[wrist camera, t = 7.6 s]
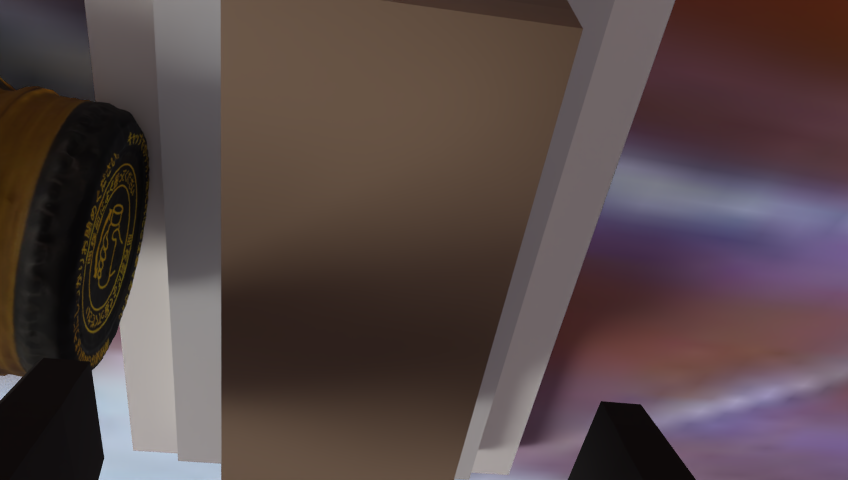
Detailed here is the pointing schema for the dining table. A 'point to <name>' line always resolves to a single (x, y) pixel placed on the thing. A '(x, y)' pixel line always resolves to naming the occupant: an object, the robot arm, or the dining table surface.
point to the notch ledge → (201, 216)
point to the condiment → (66, 224)
